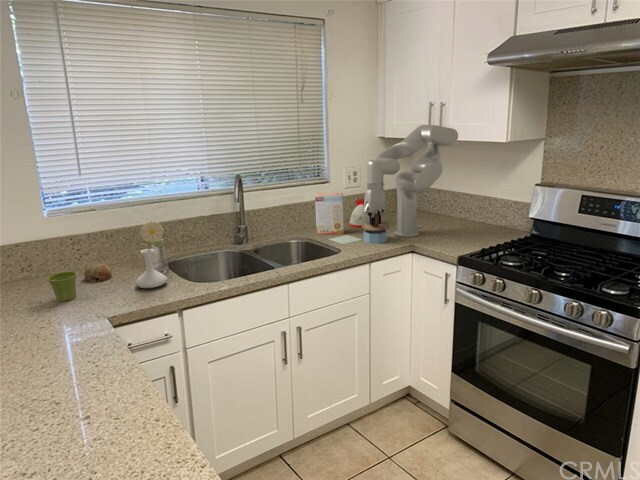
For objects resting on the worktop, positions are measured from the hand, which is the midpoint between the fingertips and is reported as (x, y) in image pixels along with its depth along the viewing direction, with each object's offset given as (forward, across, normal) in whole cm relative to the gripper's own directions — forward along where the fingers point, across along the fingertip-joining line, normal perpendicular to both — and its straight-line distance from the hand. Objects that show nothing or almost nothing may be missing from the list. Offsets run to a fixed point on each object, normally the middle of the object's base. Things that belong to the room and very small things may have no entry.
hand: (375, 224), depth 229 cm
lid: (+2, 0, 0) cm, 2 cm away
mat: (+9, +10, -11) cm, 17 cm away
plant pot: (+9, +133, -15) cm, 134 cm away
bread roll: (+9, +119, -32) cm, 123 cm away
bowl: (+8, 0, 0) cm, 8 cm away
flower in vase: (+9, +104, -8) cm, 105 cm away
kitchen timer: (+9, -16, -29) cm, 34 cm away
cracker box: (+9, +8, -26) cm, 29 cm away
